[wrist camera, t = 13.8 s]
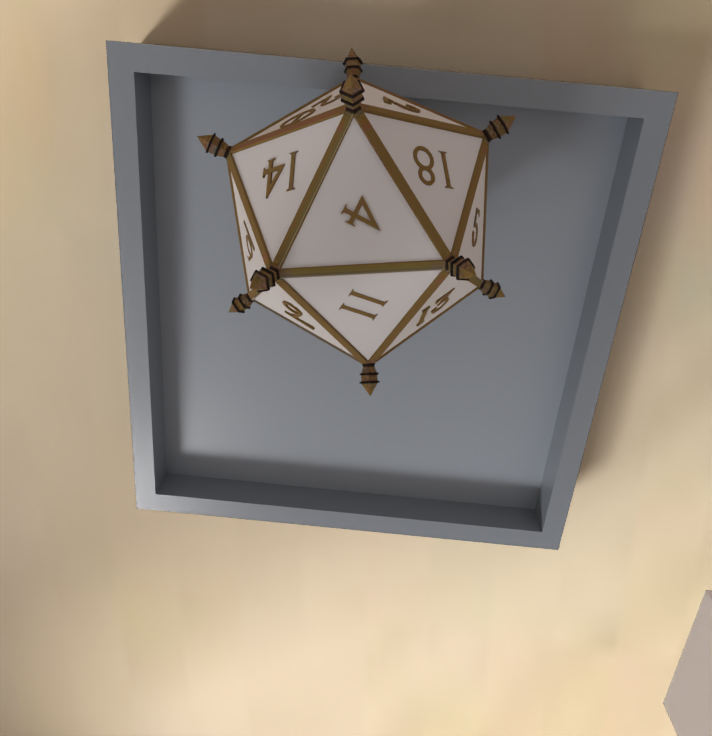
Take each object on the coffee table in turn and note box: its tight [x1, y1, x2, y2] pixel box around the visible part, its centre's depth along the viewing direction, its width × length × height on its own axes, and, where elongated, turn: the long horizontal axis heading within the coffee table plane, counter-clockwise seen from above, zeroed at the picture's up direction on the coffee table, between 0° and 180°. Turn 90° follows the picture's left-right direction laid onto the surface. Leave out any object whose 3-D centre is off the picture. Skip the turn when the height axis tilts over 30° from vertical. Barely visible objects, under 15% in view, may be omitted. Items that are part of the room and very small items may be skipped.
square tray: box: [106, 41, 678, 550], centre depth 25 cm, size 17×17×3 cm
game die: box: [197, 49, 516, 396], centre depth 19 cm, size 9×8×10 cm
